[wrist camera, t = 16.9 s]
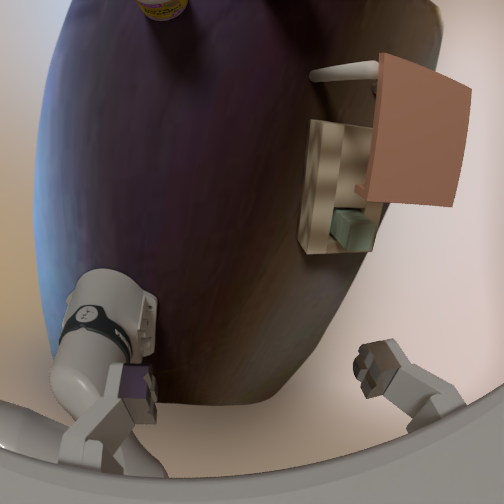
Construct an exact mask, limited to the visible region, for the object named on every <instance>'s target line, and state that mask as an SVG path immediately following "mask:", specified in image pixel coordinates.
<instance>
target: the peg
mask: <svg viewBox="0 0 504 504" xmlns="http://www.w3.org/2000/svg"><path fill="white" fill-rule="evenodd" d="M375 229H376V225H375V224H374V223H373V222H372V221H370V220H369V219H368V218H367V217H366V216H364V215H363V214H362V213H361V212H360V211H358V210H357V209H356V208H349V207H334V209H333V215H332V221H331V227H330V232H331V234H332V235H333V236H334V237H335V238H336V239H337V240H338V242H339V243H340V244H341V245H342V246H343V247H344V249H345V250H346V251H367V250H370V249H371V245H372V241H373V237H374V233H375Z"/></svg>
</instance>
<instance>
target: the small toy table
mask: <svg viewBox="0 0 504 504" xmlns="http://www.w3.org/2000/svg"><path fill="white" fill-rule="evenodd" d="M309 79H310V80H311V81H312V82H325V81H339V80H358V79H378V82H377V83H374V84H373V85H372V87H371V89H372V91H373V93H375V94H376V105H375V115H374V124H373V132H372V140H371V147H370V154H369V161H368V168H367V174H366V180H365V184H355V190H354V192H355V193H356V194H357V195H359V196H360V197H362V198H363V199H364V200H366V201H372V202H390V203H405V204H419V205H432V206H443V207H452V206H453V202H454V198H455V194H456V190H457V185H458V181H459V176H460V172H461V167H462V161H463V156H464V150H465V144H466V138H467V131H468V123H469V115H470V105H471V92H472V89H471V88H469V87H467V86H465V85H463V84H461V83H459V82H457V81H455V80H453V79H451V78H448V77H446V76H444V75H442V74H439V73H437V72H435V71H433V70H430V69H428V68H425V67H423V66H420V65H418V64H415V63H413V62H410V61H407V60H404V59H402V58H399V57H396V56H393V55H390V54H387V53H379V63H378V62H376V61H365V62H358V63H351V64H345V65H338V66H333V67H327V68H322V69H317V70H312V71H311V72H310V73H309Z"/></svg>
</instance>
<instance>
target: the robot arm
mask: <svg viewBox="0 0 504 504" xmlns="http://www.w3.org/2000/svg"><path fill="white" fill-rule="evenodd" d="M157 303H158V300H157V298H156V297H155V296H154V295H152V294H150V293H148V292H146V291H144V290H143V289H141V288H140V287H139V286H138V285H137V284H136V283H135V282H134V281H133V280H132V279H131V278H129V277H128V276H126V275H124V274H122V273H120V272H118V271H115V270H110V269H95V270H92V271H89V272H87V273H85V274H84V275H83V276H82V277H81V278H80V279H79V281H78V283H77V285H76V288H75V290H74V291H73V292H72V293H71V294H69V295H68V297H67V300H66V304H67V306H68V308H67V310H66V314H65V317H64V320H63V324H62V325H63V329H62V331H61V334H60V339H59V348H58V351H57V353H56V356H55V358H54V361H53V364H52V367H51V370H50V373H49V384H50V388H51V391H52V393H53V395H54V397H55V398H56V400H57V401H58V403H59V404H60V405H61V406H62V407H63V408H64V409H65V410H66V411H67V412H68V413H69V414H70V415H71V416H72V418H73V419H74V420H75V423H74V424H73V425H72V426H71V427H69V426H66V425H64V424H61V423H59V422H57V421H54V420H52V419H50V418H47V417H45V416H43V415H41V414H39V413H37V412H35V411H33V410H30V409H28V408H25V407H22V406H19V405H16V404H12V403H9V402H6V401H2V400H0V504H504V383H503V384H502V385H501V386H499V387H497V388H496V389H494V390H493V391H491V392H489V393H488V394H486V395H485V396H483V397H482V398H479V399H478V400H476V401H474V402H472V403H471V404H469V405H466V403H465V402H464V400H463V399H462V397H461V396H460V394H459V393H458V391H457V390H456V388H455V387H454V386H453V385H452V384H450V383H448V382H446V381H444V380H443V379H441V378H439V377H437V376H435V375H434V374H432V373H430V372H428V371H426V370H424V369H423V368H421V367H419V366H417V365H415V364H411V363H410V361H409V360H408V358H407V357H406V355H405V354H404V352H403V351H402V349H401V348H400V346H399V345H398V343H397V342H396V341H395V340H394V339H387V340H383V341H377V342H372V343H367V344H362V345H361V346H360V347H359V350H358V352H359V355H358V356H357V357H356V358H355V360H354V362H353V371H354V375H355V377H356V379H357V380H359V381H360V382H362V383H361V389H362V391H363V393H364V395H365V397H366V399H369V398H372V397H377V396H380V395H383V396H384V397H386V398H387V399H388V400H389V401H390V402H392V403H393V404H394V405H396V406H397V407H398V408H399V409H401V410H402V411H403V412H405V413H406V414H407V415H409V416H410V417H411V418H413V419H412V421H411V422H410V423H409V424H408V425H407V428H406V429H407V431H408V434H406V435H404V436H401V437H399V438H396V439H393V440H391V441H388V442H385V443H382V444H379V445H377V446H373V447H370V448H367V449H364V450H361V451H358V452H355V453H351V454H348V455H344V456H341V457H337V458H333V459H329V460H325V461H321V462H317V463H313V464H308V465H303V466H298V467H293V468H288V469H282V470H276V471H269V472H262V473H254V474H246V475H236V476H223V477H206V478H169V477H168V474H167V472H166V470H165V469H164V467H163V466H162V464H161V463H160V462H159V460H157V459H156V458H155V457H154V456H152V455H151V454H150V453H149V452H148V451H147V450H146V449H145V448H144V447H143V445H142V444H141V443H140V442H139V440H138V439H137V438H136V436H135V435H134V433H133V431H132V429H133V427H134V426H135V424H156V418H157V409H156V406H155V402H156V401H157V396H158V392H157V383H156V378H155V377H154V376H153V368H152V365H151V364H140V363H141V362H142V359H143V357H145V356H148V355H150V354H152V353H153V352H154V349H155V333H156V317H157ZM149 306H152V307H149Z"/></svg>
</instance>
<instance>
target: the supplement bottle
mask: <svg viewBox="0 0 504 504" xmlns="http://www.w3.org/2000/svg"><path fill="white" fill-rule="evenodd" d="M136 1H137V3H138V4H139V6H140V8H141V9H142V11H143V12H144V14H145V15H146V16H147V17H149V18H151V19H153V20H157V21H165V20H170V19H172V18H174V17H176V16H178V15H179V14H181V13H182V12H183V10H184V9H185V8H186V6H187V3H188V0H136Z"/></svg>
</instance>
